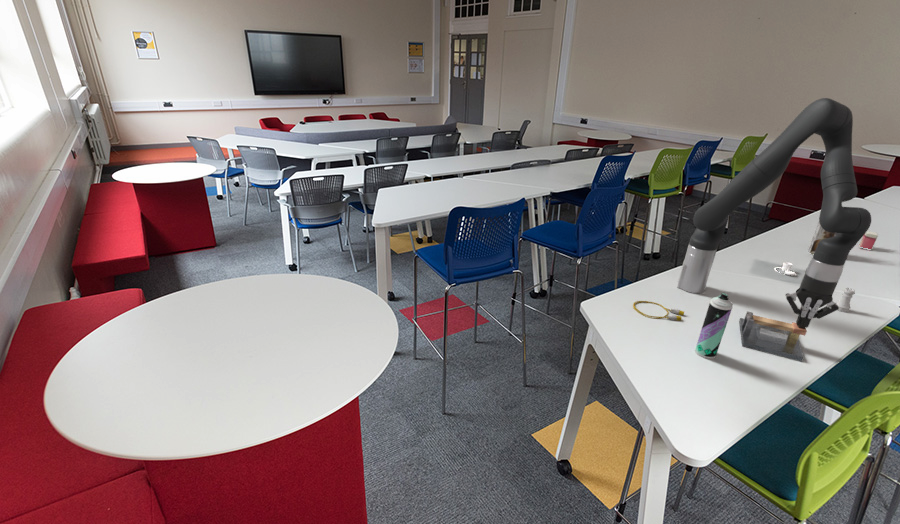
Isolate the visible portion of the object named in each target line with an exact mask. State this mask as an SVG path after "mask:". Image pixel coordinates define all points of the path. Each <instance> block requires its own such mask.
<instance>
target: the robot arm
mask: <svg viewBox="0 0 900 524" xmlns="http://www.w3.org/2000/svg"><path fill="white" fill-rule="evenodd" d="M853 119H854V118H853V112H852V110H851V109H850V108H849V107H848V106H847V105H845V104H843V103H841V102H838V101H836V100H834V99H832V98H828V97H822V98H819V99H816V100H814V101H812V102H811V103H810V104H808V105H807V106H806V107H805V108H804V109H803V110H802V111H801V112H800V113H799V114H798V115H797V116H796V117H795V118H794V119H793V120H792V122H791V123H789V125H787V127H786V128H785V129H784V130H783V131H782V132H781V133H780V135H778V137H776V138H775V139H774V140H773V141H772V142H771V143H770V144H769V145H768V146H767V147H766V148H765V149H764V150H763V151H762V152H760V153H759V154H758V155H757V156H756V157H754V158H753V159H752V160H751V161H750V162H749V163H747V165H746V166H744V167H743V168H742V169H741V171H740V172H739V173H738V174H736V175H735V176H734V178H732V179H731V181H730V182H729V183H728V184H727V185H726V186H725V187H724V188H723V189H722V190H721V191H720V192H719V193H718V194H717V195H715V196H714V197H712V198H711V199H710V200H709V201H707V202H706V203H704V204H703V205H701V206H700V207H699V208H698V209H697V210H696V211H695V212H694V215H693V217H692V219H693V220H692V221H693V222H692V223H693V225H694V228H695V227H696V228H695V230H694V232H693V234H692V235H691V236H690V238H689V242H688V246H687V250H686V253H685V257H684V260H683V262H682V266H681V270H680V273H679V277H678V281H677V288H678V289H680V290H683V291H685V292H689V293H691V294H702V293H704V292H705V290H706V287H707V283H708V280H709V277H710V273H711V271H712V268H713V263H714V261H715V258H716V254H717V252H718V251H717V250H718V248H719V245H720V243H721V241H722V240H723V237H724V234H725V231H726V228H727V224H728V222H729V218H730V215H731V214H732V213H733V212H734V211H735V210H736V209H737V208H739V207H740V206H742V205H743V204H744V203H746V202H747V201H749V200H751V199H752V198H754V197H755V196H757V195H758V194H760V193H762V191H764V190H765V189H766V188H768V187H770V186H771V184H773V183H774V182H776V180H778V179H780V177H781V176H782V175H783V174H784V173H785V171H786V169H787V168H788V166H789V164H790V162H791V159H792V157H793V156H794V153H796V151H797V149H798V148H799V147H800V146H801V145H802V144H803V143H804V142H805V141H807V140H808V139H809V138H810V137H811V136H813V135H814V134H815V135H817V136H820V137H821V139H822V141H823V145H824V150H825V154H824V155H825V156H824V160H823V163H822V165H821V169H820V182H821V189H822V195H823V197H822V202H821V208H820V212H819V216H818V217H819V218H818V222H820V225H821V227H822V228H823V229H824V230H825V231H827V232H832V233H838V234H837V235H836V236H834V237H831V238H826V239H822V240H821V241H820V242H819V243H818V245H817V248H816V250H815V253H814V255H813V254H812V257H811V260H810V261H809V262H808V265H807V267H806V269H805V274H804V276H803V278H802V280H801V283H800V286H799V288H798V289H796V290H795V292H793V293H789V292H788V293H785V298H786V301H787V302H788V304H789V306H790V307H791V309H792V311H793V313H794V314H796V315H798V316H797V318H796V321H795V323H796V324H797V326H798V327H799V328H802V329H805V328H806V329H807V328H808V327H809V326H810V324H811V321H812V320H813V319H819V320H820V319H823V318H824V317H826V316H828V315H830V314H833V313H834V312H836V311H839V310H838V309H839V307H838V305H837V304H836V302H834V301H833V295H834V293H835V290H836V287H837V285H838V283H839V281H840V279H841V276H842V273H843V269H844V266H845V264H846V261H847V258H848V257H849V254H850V252H851V251H852V249H853V248H854V247H855V246H856V245H857V244H858V243H859V242H860V241H861V240H862V238H863V235H864V234H865V233H866V232H867V231H869V228H870V227H871V224H872V215H871V212H870V211H869V210H868V209H866V208H864V207H852V206H843V203H844V202H849V201H851V200H853V199H855V198H856V197H857V195H858V185H857V181H856V175H855V171H854V165H853V149H852V148H853V145H852V143H853V127H854V126H853V125H854V124H853V123H854V121H853ZM797 299H798V301H799V303H800V308H799V307H798V305H797V303H796V300H797Z"/></svg>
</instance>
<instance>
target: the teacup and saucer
mask: <svg viewBox="0 0 900 524" xmlns="http://www.w3.org/2000/svg"><path fill="white" fill-rule="evenodd" d="M776 268H779V269H781V271H779V270H778V269H777V270H778V271H779V272H778V271H777V270H776ZM792 268H793V263H791V262H789V261H784V262H783V263H782V267H781V266H780V267H779V266H777V267H774V268H773V270H774V271H775V272H776V273H779V274H781V273H780V272H783V271H784V272H783V273H784V275H785V274H787V275H786V276H790V275H791V276H797V275H796V273H797V272H796V271H795V272H796V273H795V272H792V271H790V269H791V270H792ZM791 276H790V277H791Z"/></svg>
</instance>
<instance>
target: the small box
mask: <svg viewBox="0 0 900 524" xmlns="http://www.w3.org/2000/svg"><path fill="white" fill-rule="evenodd" d="M878 237H879V234H878V232H875V231H869V230H867V232H866V233H865V234H864V235H863V237H862V238H861V239H860V241H859V244H858V246H859V245H860V247H863V248H868V249H872V250H873V247H874V246H875V243H876V241H877V239H878Z"/></svg>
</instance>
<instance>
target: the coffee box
mask: <svg viewBox="0 0 900 524" xmlns="http://www.w3.org/2000/svg"><path fill="white" fill-rule="evenodd" d="M837 234H838V233H832V232H827V231H825V230H824V229H823V228H822V227H821V225H820V222H819V221H818V222H817V225H816V227H815V230H814V232H813V236H812V238H811V240H810V244H809V246H808V248H807V250H808V251H809V252H808V251H807V252H808V254H809V253H811V254H810V255H813V254H814V253H815V250H816V248H817V245H818V243H819V242H820V241H821V240H822V239H826V238H831V237H834V236H836V235H837Z"/></svg>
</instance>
